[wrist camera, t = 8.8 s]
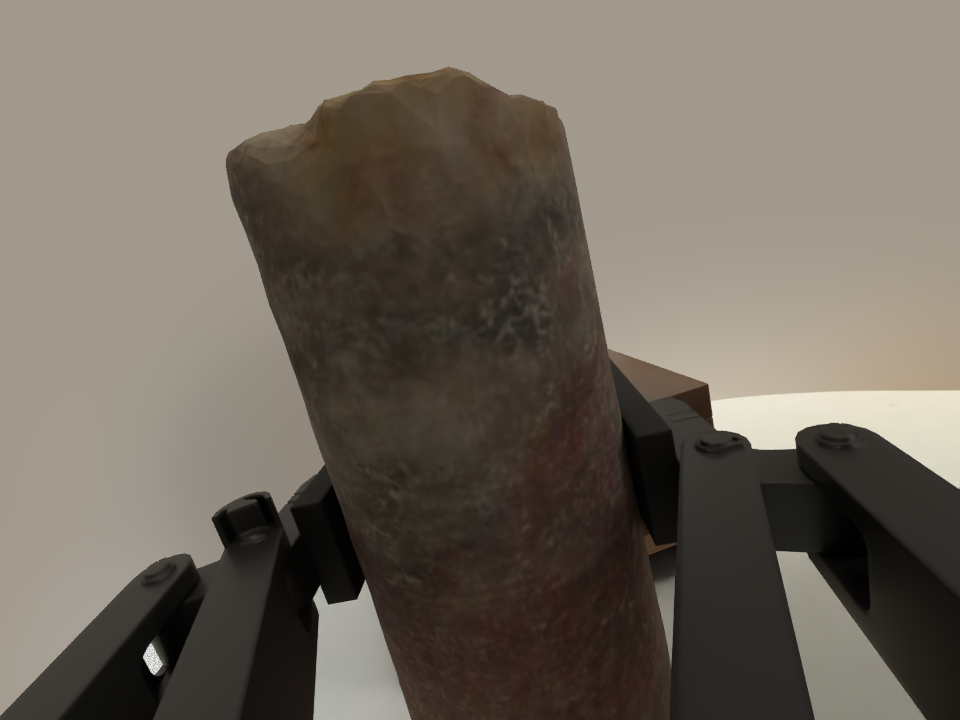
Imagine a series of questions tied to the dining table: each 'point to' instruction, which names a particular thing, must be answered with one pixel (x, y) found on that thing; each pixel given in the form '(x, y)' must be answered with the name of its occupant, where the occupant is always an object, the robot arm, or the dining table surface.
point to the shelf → (659, 386)
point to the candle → (462, 394)
